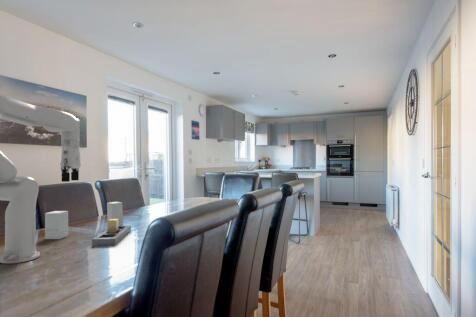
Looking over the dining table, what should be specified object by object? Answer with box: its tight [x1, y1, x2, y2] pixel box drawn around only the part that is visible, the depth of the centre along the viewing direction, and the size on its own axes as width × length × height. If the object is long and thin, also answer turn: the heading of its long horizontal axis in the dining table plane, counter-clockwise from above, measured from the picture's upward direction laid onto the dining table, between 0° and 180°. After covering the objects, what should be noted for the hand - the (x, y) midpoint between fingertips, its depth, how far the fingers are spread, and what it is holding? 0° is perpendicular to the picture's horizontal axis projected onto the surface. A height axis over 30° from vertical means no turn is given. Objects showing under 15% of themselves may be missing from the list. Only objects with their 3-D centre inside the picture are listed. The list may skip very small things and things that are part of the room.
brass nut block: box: [106, 219, 119, 233], centre depth 146 cm, size 4×4×9 cm
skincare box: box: [106, 201, 124, 226], centre depth 166 cm, size 8×6×15 cm
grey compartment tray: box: [91, 225, 132, 247], centre depth 146 cm, size 28×10×3 cm, turn 6°
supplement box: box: [44, 210, 69, 240], centre depth 148 cm, size 7×7×13 cm
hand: (70, 180), depth 140 cm, fingers open, 9 cm apart
